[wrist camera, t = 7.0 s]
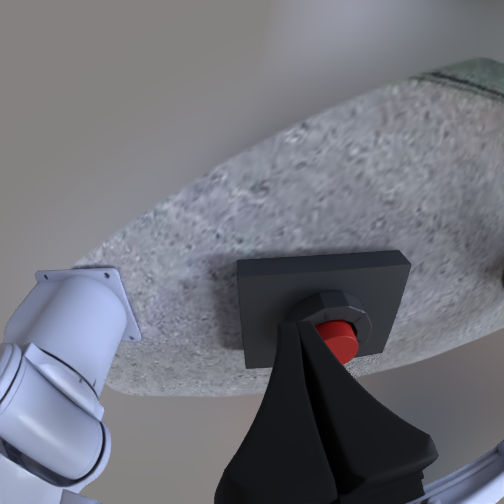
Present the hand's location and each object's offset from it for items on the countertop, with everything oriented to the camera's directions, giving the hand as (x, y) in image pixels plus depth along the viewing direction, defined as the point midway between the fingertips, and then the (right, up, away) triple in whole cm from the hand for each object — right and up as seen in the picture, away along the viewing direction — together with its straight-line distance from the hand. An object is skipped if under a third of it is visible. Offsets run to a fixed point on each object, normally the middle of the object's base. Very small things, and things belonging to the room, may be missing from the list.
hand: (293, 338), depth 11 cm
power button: (+4, -3, +9) cm, 10 cm away
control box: (+4, -1, +12) cm, 13 cm away
